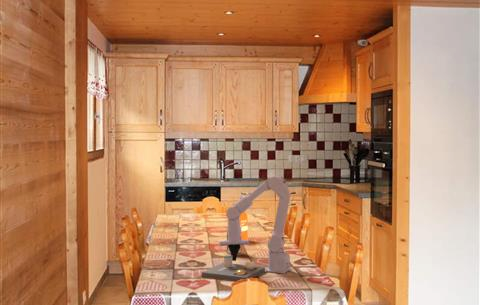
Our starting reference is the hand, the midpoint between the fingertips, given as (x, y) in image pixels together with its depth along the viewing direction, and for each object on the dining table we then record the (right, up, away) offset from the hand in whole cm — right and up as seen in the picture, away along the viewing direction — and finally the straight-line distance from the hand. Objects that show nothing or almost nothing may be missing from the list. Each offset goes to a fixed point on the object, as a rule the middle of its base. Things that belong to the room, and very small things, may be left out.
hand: (234, 260), depth 264 cm
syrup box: (0, -3, +33) cm, 33 cm away
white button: (+8, -2, -9) cm, 12 cm away
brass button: (+3, -4, -18) cm, 19 cm away
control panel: (0, -4, -11) cm, 12 cm away
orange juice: (+2, -1, +68) cm, 68 cm away
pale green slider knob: (-3, -2, -5) cm, 6 cm away
